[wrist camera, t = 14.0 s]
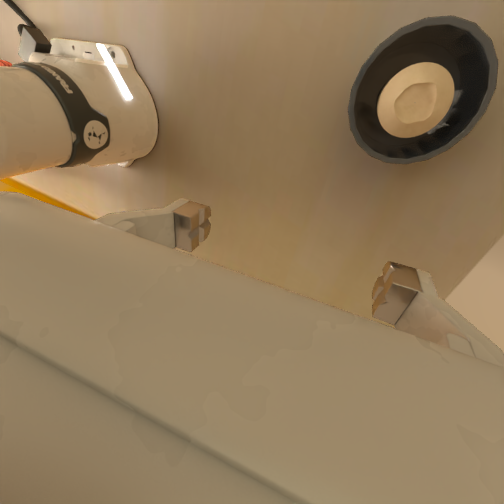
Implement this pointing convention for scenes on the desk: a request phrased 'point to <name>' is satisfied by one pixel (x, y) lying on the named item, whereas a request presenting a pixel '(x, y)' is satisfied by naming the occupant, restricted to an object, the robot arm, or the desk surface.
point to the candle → (415, 99)
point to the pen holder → (417, 51)
